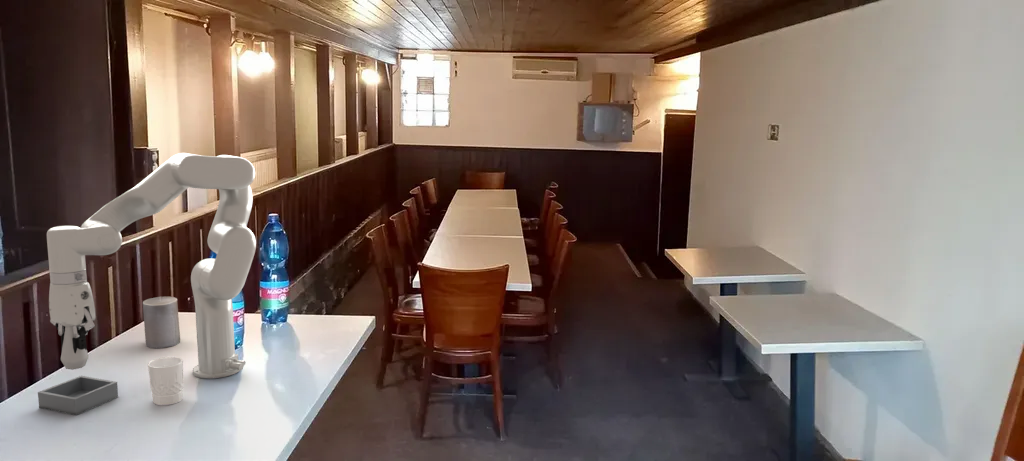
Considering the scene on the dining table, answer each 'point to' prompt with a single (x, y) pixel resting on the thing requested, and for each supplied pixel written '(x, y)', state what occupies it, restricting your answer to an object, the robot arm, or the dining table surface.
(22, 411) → the dining table surface
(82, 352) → the salt shaker
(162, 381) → the white cup
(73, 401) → the box
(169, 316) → the pillar candle
